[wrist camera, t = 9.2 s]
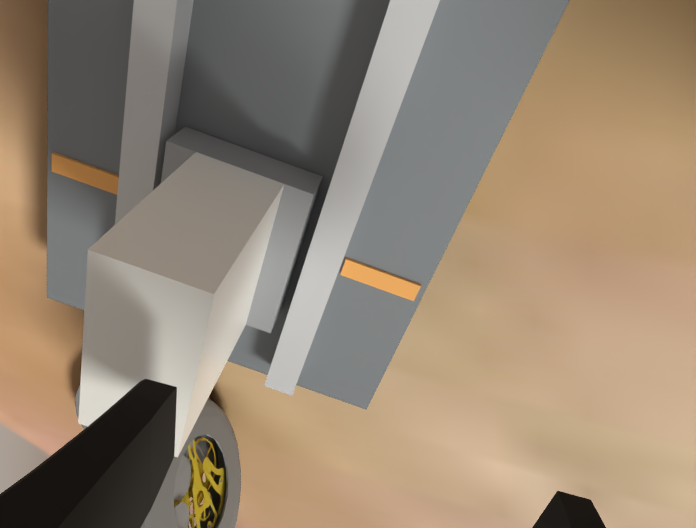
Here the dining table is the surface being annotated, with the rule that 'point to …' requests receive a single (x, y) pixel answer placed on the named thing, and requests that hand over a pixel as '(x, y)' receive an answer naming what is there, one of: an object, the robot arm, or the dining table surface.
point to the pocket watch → (200, 476)
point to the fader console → (294, 144)
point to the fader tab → (191, 273)
